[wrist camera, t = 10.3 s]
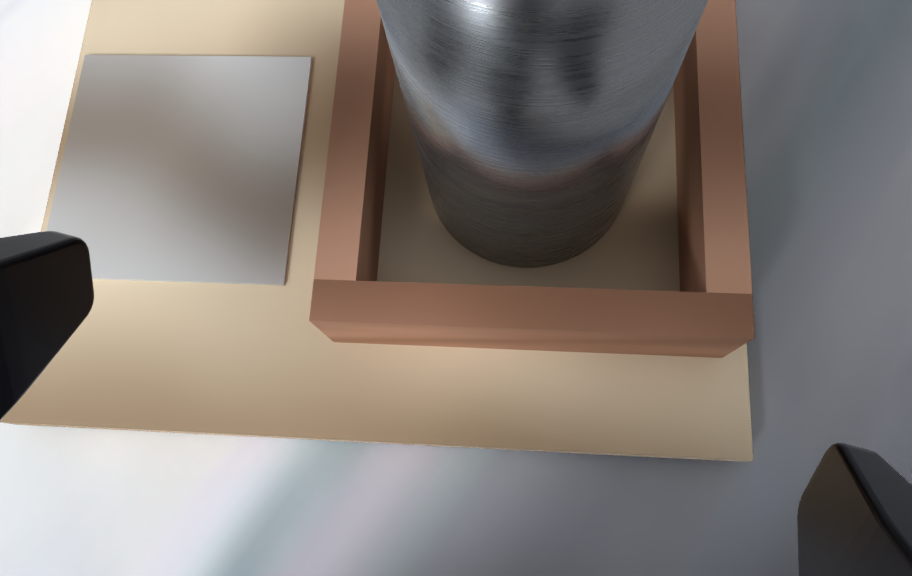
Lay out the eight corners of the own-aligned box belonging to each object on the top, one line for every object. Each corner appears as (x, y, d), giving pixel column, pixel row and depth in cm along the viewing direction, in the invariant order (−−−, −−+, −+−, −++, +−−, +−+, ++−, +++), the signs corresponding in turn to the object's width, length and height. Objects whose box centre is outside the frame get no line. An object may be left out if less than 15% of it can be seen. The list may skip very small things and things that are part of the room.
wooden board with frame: (743, 461, 15) (792, 455, 12) (17, 424, 16) (-74, 411, 13) (717, -37, 18) (752, -124, 15) (116, -37, 19) (57, -116, 17)
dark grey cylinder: (585, 298, 15) (683, 69, 7) (396, 224, 16) (267, -68, 7) (656, 120, 16) (821, -279, 8) (474, 58, 17) (439, -371, 8)
